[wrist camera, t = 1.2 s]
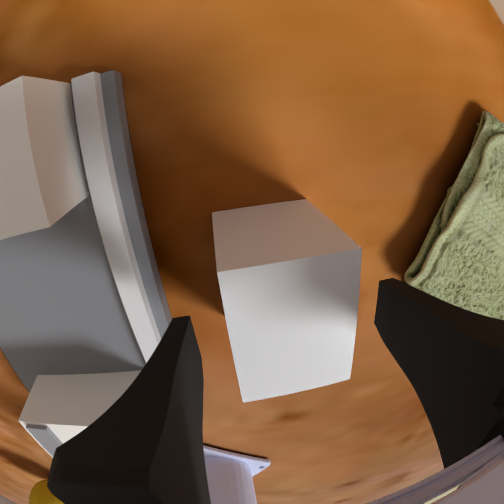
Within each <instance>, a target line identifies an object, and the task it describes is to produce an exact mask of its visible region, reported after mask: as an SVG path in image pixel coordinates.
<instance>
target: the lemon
mask: <svg viewBox="0 0 504 504" xmlns="http://www.w3.org/2000/svg"><path fill="white" fill-rule="evenodd" d="M47 482H48V480H42V481H40V482H38V483H37V484H35V485H34V487H33V488H32V490H31V493H30V498H29V504H64V503H63V502H62V501H60V500H59V499H57V498H56V497H55V496H54V495H53V494H52V493H51V492H50V490H49V489H48V487H47Z"/></svg>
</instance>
